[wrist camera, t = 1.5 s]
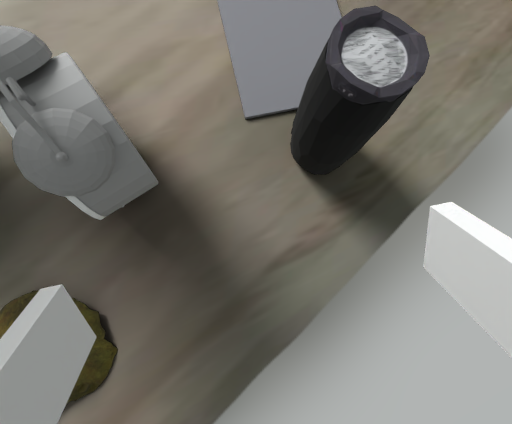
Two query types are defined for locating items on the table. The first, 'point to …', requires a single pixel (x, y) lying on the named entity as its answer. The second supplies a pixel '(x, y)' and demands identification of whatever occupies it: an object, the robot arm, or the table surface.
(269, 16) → the rubber mat
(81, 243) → the table surface
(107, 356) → the mossy rock
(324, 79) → the portable speaker
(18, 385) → the robot arm
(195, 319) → the table surface
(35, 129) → the alarm clock
